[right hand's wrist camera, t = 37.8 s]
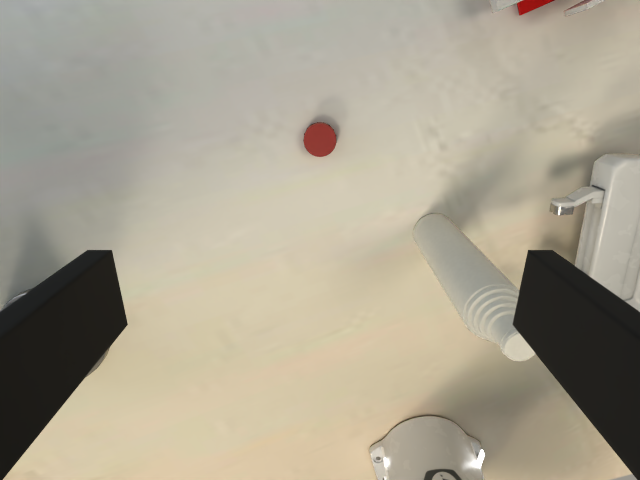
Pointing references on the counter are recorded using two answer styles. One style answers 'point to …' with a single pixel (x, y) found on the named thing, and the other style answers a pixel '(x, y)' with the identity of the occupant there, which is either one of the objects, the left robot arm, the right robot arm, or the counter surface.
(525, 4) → the toy
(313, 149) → the cap
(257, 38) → the counter surface
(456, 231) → the bottle
